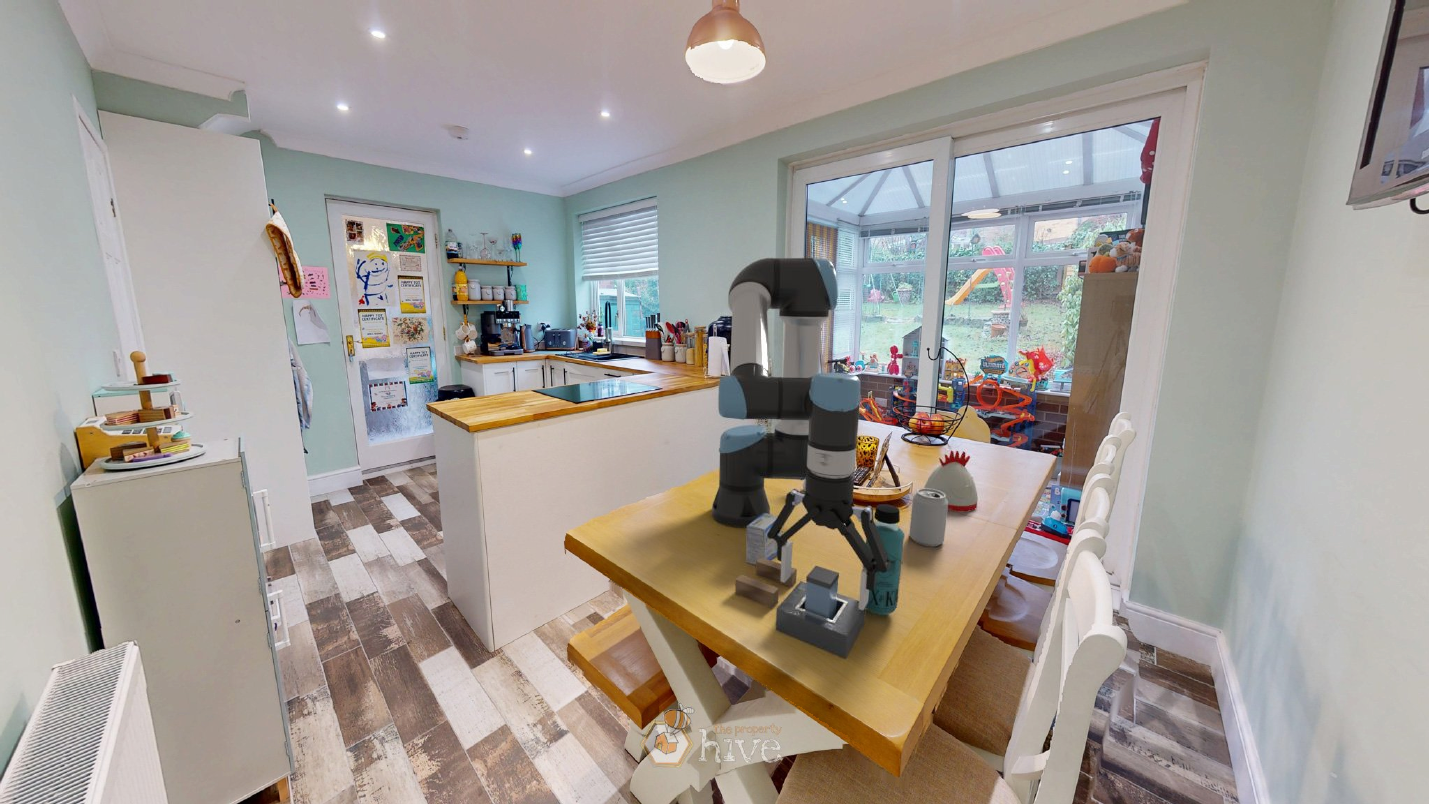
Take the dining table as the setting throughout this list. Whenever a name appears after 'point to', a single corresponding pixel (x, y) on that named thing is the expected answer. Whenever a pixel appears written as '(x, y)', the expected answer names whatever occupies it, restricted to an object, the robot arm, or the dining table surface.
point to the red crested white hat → (954, 482)
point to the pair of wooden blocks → (761, 590)
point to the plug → (822, 592)
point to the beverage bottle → (888, 582)
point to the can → (928, 517)
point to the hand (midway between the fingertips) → (822, 591)
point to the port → (821, 622)
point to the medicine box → (760, 539)
